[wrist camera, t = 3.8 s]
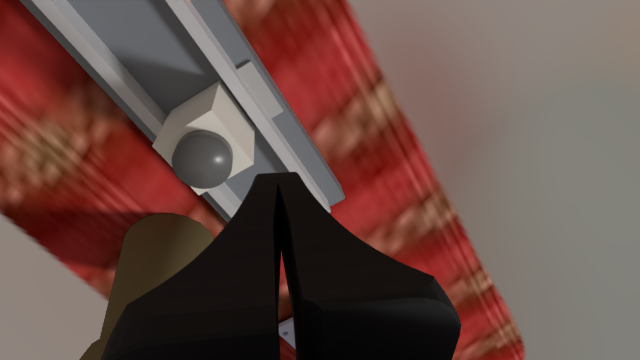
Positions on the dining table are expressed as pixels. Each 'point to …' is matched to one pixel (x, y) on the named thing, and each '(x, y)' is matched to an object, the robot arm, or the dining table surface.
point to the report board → (187, 79)
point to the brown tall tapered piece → (149, 264)
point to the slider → (207, 139)
